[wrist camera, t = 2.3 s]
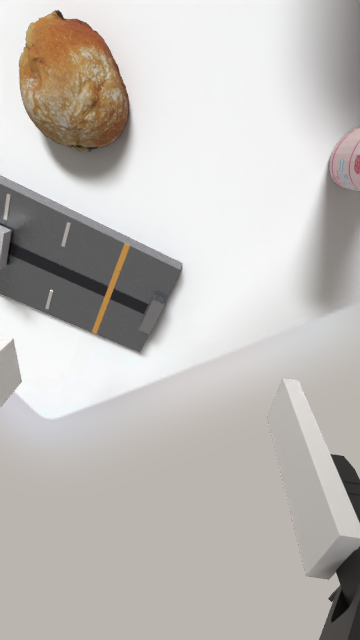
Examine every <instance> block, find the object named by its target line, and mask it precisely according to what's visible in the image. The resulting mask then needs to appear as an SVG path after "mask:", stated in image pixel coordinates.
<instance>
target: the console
mask: <svg viewBox="0 0 360 640" xmlns="http://www.w3.org/2000/svg"><path fill="white" fill-rule="evenodd" d="M0 225H1V226H3V227H5V228H8V229H10V230H12V231H11V237H10V244H9V250H8V257H7V263H6V267H4V268H3V269H1V270H0V293H1V294H3V295H5V296H8V297H10V298H12V299H15V300H17V301H20V302H22V303H24V304H27V305H29V306H31V307H34V308H36V309H39V310H41V311H43V312H46V313H48V314H50V315H53V316H55V317H58V318H60V319H62V320H65V321H67V322H69V323H72V324H74V325H77V326H79V327H81V328H84V329H86V330H88V331H91V332H92V333H94V334H98V335H100V336H103V337H105V338H108V339H110V340H112V341H115V342H117V343H119V344H122V345H124V346H127V347H129V348H131V349H134V350H136V351H138V352H140V351H141V349H142V347H143V345H144V343H145V341H146V339H147V337H148V335H150V333H151V331H152V329H153V327H154V325H155V323H156V321H157V319H158V317H159V315H160V313H161V311H162V309H163V307H164V305H165V302H166V299H167V297H168V295H169V293H170V291H171V289H172V287H173V285H174V283H175V281H176V279H177V277H178V275H179V273H180V271H181V267H182V263H181V262H178V261H176V260H174V259H172V258H170V257H168V256H166V255H164V254H162V253H160V252H158V251H156V250H154V249H152V248H149V247H147V246H145V245H143V244H141V243H139V242H137V241H135V240H133V239H131V238H129V237H127V236H125V235H123V234H120V233H118V232H116V231H114V230H112V229H110V228H108V227H106V226H104V225H102V224H100V223H98V222H96V221H94V220H91V219H89V218H87V217H85V216H83V215H81V214H79V213H77V212H75V211H73V210H71V209H69V208H67V207H65V206H62V205H60V204H58V203H56V202H54V201H52V200H50V199H48V198H46V197H44V196H42V195H40V194H38V193H36V192H33V191H31V190H29V189H27V188H25V187H23V186H21V185H19V184H17V183H15V182H13V181H11V180H9V179H7V178H4V177H2V176H0Z"/></svg>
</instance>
